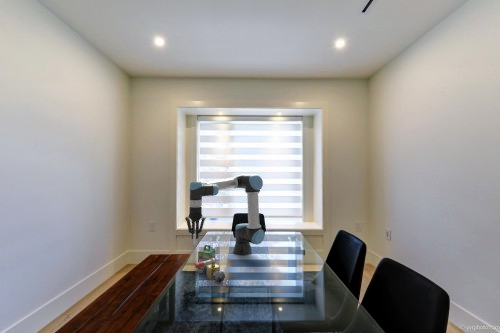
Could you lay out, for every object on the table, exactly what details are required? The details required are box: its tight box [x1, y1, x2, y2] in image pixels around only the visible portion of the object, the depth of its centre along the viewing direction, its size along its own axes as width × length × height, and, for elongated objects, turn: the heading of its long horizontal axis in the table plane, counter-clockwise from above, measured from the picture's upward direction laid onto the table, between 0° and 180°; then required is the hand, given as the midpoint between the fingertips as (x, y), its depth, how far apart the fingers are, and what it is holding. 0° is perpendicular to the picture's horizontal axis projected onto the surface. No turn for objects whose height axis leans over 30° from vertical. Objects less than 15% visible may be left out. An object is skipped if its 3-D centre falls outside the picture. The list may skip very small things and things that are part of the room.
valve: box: [201, 263, 226, 284], centre depth 141 cm, size 18×6×9 cm, turn 39°
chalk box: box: [197, 244, 216, 270], centre depth 156 cm, size 9×9×15 cm
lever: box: [194, 257, 217, 269], centre depth 138 cm, size 14×4×2 cm, turn 129°
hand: (195, 244), depth 139 cm, fingers closed
